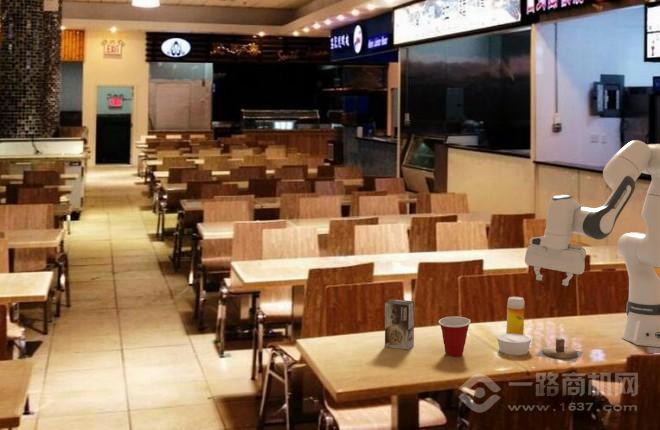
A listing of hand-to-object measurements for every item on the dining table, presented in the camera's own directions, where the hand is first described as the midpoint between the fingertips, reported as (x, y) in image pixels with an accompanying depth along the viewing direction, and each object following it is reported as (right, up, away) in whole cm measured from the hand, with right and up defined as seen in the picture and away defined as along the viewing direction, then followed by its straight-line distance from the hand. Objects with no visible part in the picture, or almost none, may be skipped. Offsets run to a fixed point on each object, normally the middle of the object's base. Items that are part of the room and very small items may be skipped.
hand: (551, 282), depth 261 cm
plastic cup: (-33, -25, +1) cm, 42 cm away
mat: (+3, -25, +1) cm, 25 cm away
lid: (+3, -24, +1) cm, 25 cm away
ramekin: (-12, -25, +4) cm, 28 cm away
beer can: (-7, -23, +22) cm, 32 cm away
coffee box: (-51, -24, +10) cm, 57 cm away
